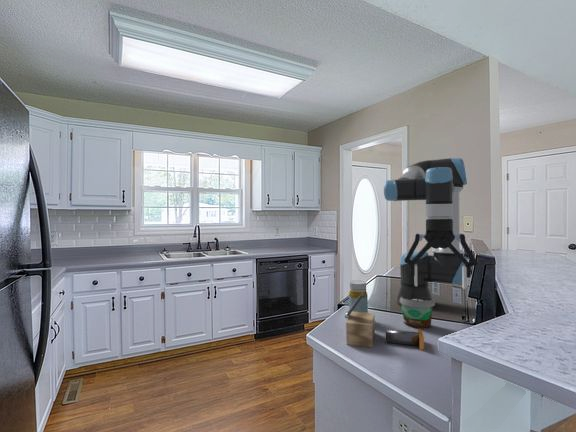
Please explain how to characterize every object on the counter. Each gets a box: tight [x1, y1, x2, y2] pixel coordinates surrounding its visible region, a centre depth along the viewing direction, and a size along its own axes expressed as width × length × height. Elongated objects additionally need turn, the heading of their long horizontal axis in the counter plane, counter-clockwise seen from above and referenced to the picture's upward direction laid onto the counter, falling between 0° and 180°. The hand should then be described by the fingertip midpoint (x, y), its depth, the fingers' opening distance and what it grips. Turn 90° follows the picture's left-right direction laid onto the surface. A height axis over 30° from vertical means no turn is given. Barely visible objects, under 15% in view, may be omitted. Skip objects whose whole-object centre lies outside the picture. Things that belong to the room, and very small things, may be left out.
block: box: [345, 311, 376, 348], centre depth 106 cm, size 8×12×7 cm, turn 161°
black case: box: [385, 328, 425, 351], centre depth 102 cm, size 11×7×4 cm, turn 71°
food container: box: [400, 297, 436, 330], centre depth 116 cm, size 12×6×10 cm, turn 70°
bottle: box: [348, 280, 369, 313], centre depth 123 cm, size 7×7×15 cm
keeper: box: [344, 292, 364, 319], centre depth 107 cm, size 10×5×1 cm
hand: (439, 286), depth 98 cm, fingers open, 13 cm apart
